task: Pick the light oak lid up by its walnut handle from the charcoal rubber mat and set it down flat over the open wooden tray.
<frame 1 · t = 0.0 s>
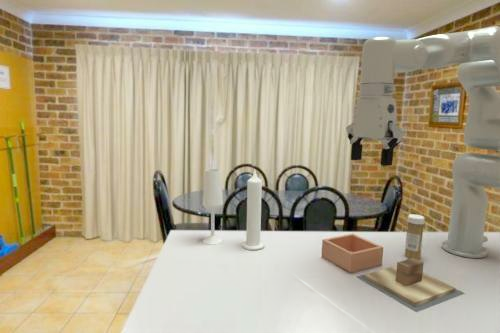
hand: (370, 162, 86), 31 cm above the kitchen counter, tool pointing down, fingers open, 9 cm apart
sprinkles bottle: (411, 259, 105), on the kitchen counter
champagne flute: (212, 241, 116), on the kitchen counter
lid: (408, 284, 88), point 1 cm above the kitchen counter, touching mat
open wooden tray: (350, 262, 102), on the kitchen counter
mat: (408, 286, 88), on the kitchen counter
candle: (253, 246, 112), on the kitchen counter
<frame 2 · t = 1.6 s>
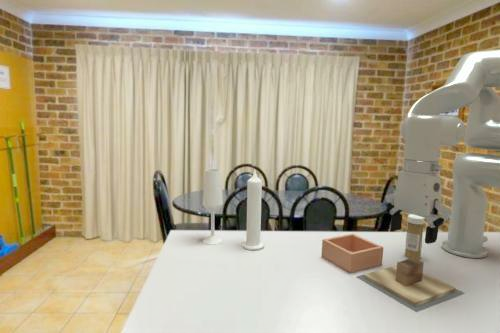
hand: (412, 235, 86), 14 cm above the kitchen counter, tool pointing down, fingers open, 9 cm apart
nothing on the kitchen counter moved.
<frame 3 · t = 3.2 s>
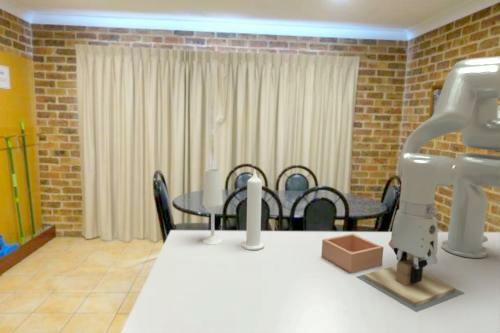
hand: (408, 278, 88), 2 cm above the kitchen counter, tool pointing down, fingers closed on lid, 3 cm apart
lid: (408, 284, 88), point 1 cm above the kitchen counter, touching gripper, mat
everything else where it was.
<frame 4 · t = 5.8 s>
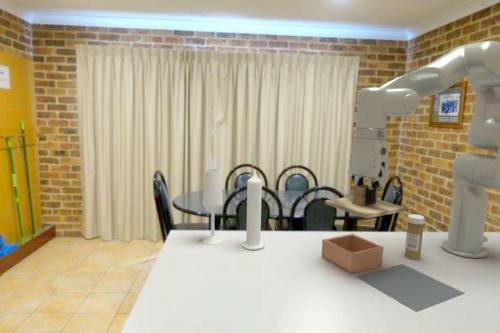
hand: (364, 200, 96), 19 cm above the kitchen counter, tool pointing down, fingers closed on lid, 3 cm apart
lid: (364, 207, 96), point 17 cm above the kitchen counter, touching gripper
everything else where it was.
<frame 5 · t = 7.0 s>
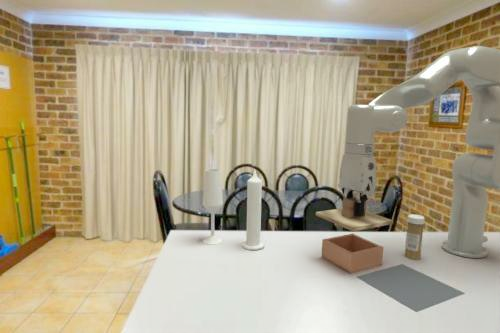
hand: (353, 213, 99), 15 cm above the kitchen counter, tool pointing down, fingers closed on lid, 3 cm apart
lid: (353, 219, 99), point 13 cm above the kitchen counter, touching gripper
everything else where it was.
when the fingers open (9 cm above the kitchen counter, at t = 8.2 s): lid drops 1 cm, resting on open wooden tray.
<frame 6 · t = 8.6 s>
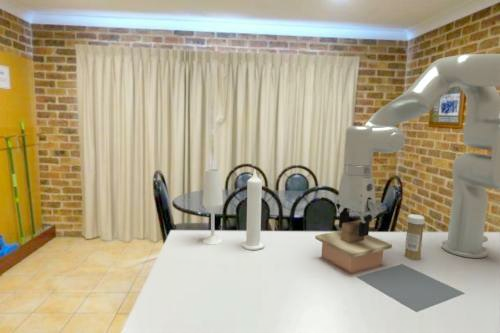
hand: (353, 230, 100), 10 cm above the kitchen counter, tool pointing down, fingers open, 7 cm apart
lid: (352, 243, 101), point 6 cm above the kitchen counter, touching open wooden tray
everything else where it was.
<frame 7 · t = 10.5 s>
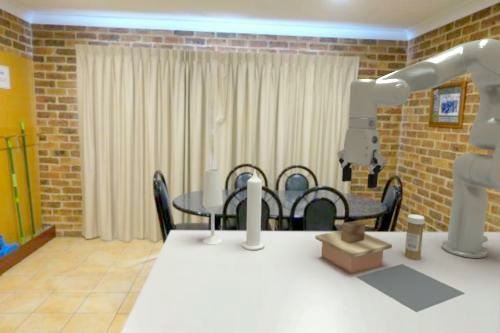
hand: (358, 184, 100), 23 cm above the kitchen counter, tool pointing down, fingers open, 9 cm apart
nothing on the kitchen counter moved.
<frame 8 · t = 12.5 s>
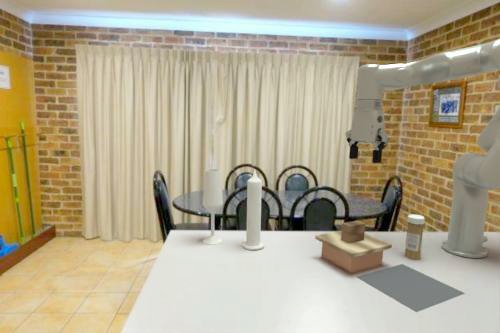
hand: (364, 160, 110), 28 cm above the kitchen counter, tool pointing down, fingers open, 9 cm apart
nothing on the kitchen counter moved.
at the end: lid 0.0 cm off-centre on the open wooden tray, point 6.0 cm above the open wooden tray's base; lid tilted 0°; the gripper is holding nothing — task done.
